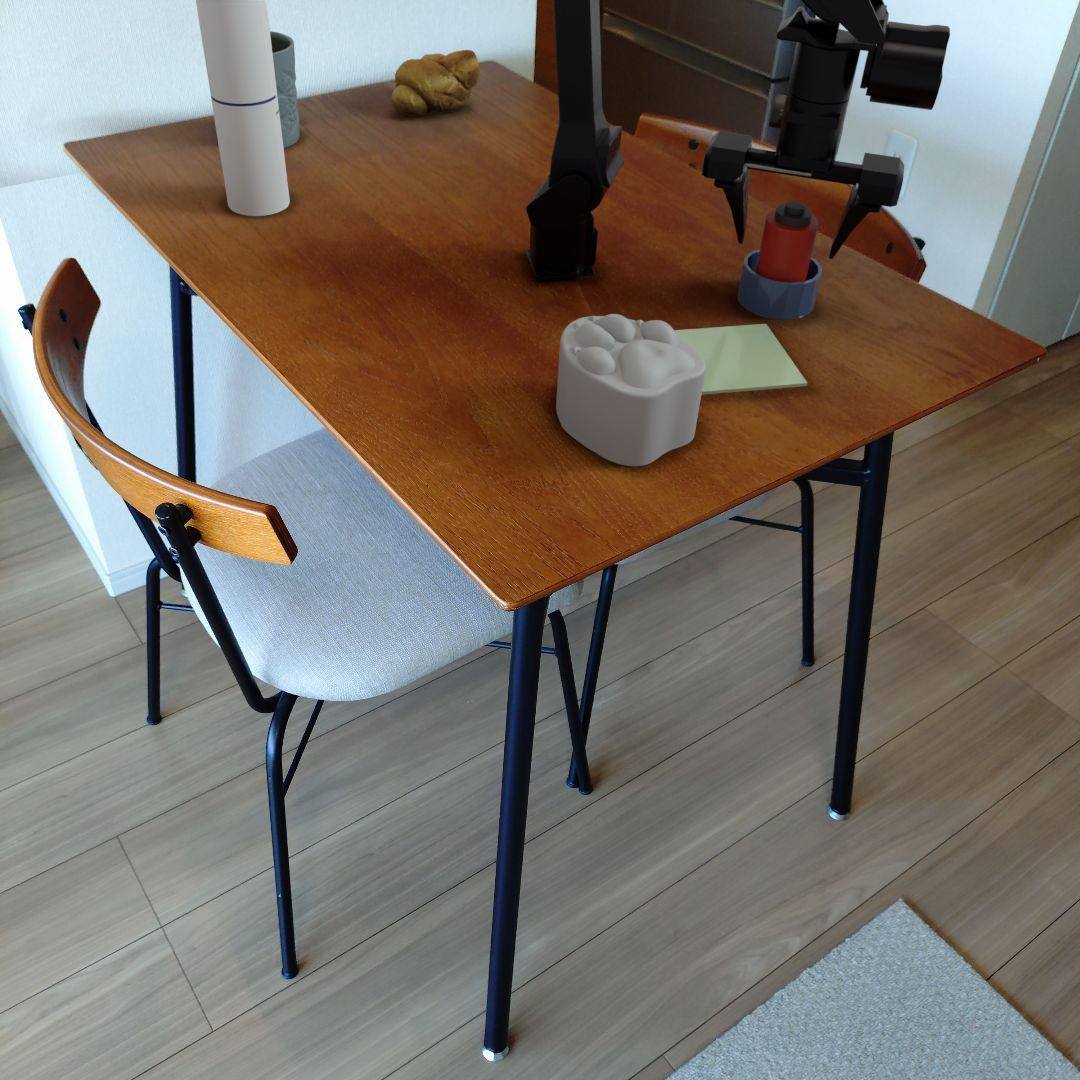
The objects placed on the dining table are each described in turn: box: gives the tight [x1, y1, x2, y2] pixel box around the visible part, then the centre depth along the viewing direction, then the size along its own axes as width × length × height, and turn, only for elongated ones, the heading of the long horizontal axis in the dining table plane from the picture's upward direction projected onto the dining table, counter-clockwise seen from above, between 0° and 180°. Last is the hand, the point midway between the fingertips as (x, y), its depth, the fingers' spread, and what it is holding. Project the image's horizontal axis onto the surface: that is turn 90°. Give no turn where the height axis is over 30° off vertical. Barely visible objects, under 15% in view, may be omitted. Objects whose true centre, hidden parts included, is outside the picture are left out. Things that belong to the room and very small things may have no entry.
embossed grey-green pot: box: [270, 30, 301, 149], centre depth 138 cm, size 10×10×12 cm
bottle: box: [756, 200, 819, 283], centre depth 110 cm, size 5×5×10 cm
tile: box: [673, 323, 808, 396], centre depth 104 cm, size 11×11×1 cm
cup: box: [736, 248, 823, 321], centre depth 112 cm, size 8×8×4 cm
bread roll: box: [390, 49, 481, 117], centre depth 150 cm, size 13×10×8 cm
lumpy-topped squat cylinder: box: [555, 313, 706, 467], centre depth 94 cm, size 10×13×9 cm
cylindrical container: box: [195, 0, 291, 217], centre depth 119 cm, size 7×7×25 cm
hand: (785, 249), depth 110 cm, fingers open, 9 cm apart
